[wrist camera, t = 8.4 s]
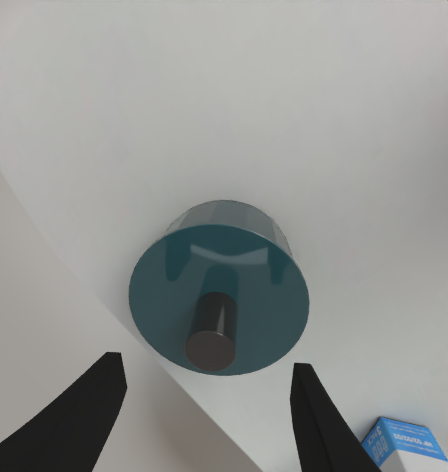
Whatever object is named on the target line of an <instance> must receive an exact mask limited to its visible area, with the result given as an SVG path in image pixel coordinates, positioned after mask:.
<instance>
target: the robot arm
mask: <svg viewBox="0 0 448 472" xmlns="http://www.w3.org/2000/svg"><path fill="white" fill-rule="evenodd" d="M126 390H127V384H126V378H125V372H124V367H123V362H122V357H121V353H116V352H106V353H105V354H104V355H103V356H102V357H101V358H100V359H99V360H98V361H96V362H95V363H94V364H93V365H92V366H91V367H90V368H89V369H88V370H87V371H86V372H85V373H84V374H83V375H81V376H80V377H79V378H78V379H77V380H76V381H75V382H74V383H73V384H72V385H71V386H70V387H68V388H67V389H66V390H65V391H64V392H63V393H62V394H61V395H59V396H58V397H57V398H56V399H55V400H54V401H53V402H51V403H50V404H49V405H48V406H47V407H45V408H44V409H43V410H42V411H41V412H40V413H38V414H37V415H36V416H35V417H33V419H31V420H30V421H29V422H27V423H26V424H25V425H23V426H22V427H21V428H20V429H18V430H17V431H16V432H14V433H13V434H12V435H10V436H9V437H8V438H6V439H5V440H4V441H2V442H1V443H0V472H92V470H93V468H94V466H95V464H96V462H97V460H98V458H99V455H100V453H101V451H102V449H103V447H104V445H105V443H106V440H107V438H108V436H109V434H110V432H111V430H112V427H113V425H114V423H115V421H116V419H117V416H118V414H119V411H120V409H121V406H122V402H123V399H124V397H125V394H126ZM290 405H291V414H292V423H293V430H294V435H295V440H296V445H297V450H298V455H299V460H300V465H301V469H302V472H382V471H381V470H380V468H379V467H378V466H377V465H376V463H375V462H374V461H373V459H372V458H371V457H370V456H369V454H368V453H367V452H366V450H365V449H364V448H363V446H362V445H361V443H360V442H359V441H358V439H357V438H356V436H355V435H354V434H353V432H352V431H351V429H350V428H349V426H348V425H347V423H346V422H345V421H344V419H343V417H342V416H341V414H340V413H339V411H338V410H337V408H336V407H335V405H334V404H333V402H332V400H331V399H330V397H329V395H328V394H327V392H326V390H325V389H324V387H323V385H322V383H321V382H320V380H319V378H318V376H317V374H316V373H315V371H314V369H313V367H312V365H311V364H307V363H294V369H293V377H292V386H291V394H290Z"/></svg>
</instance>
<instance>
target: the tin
mask: <svg viewBox="0 0 448 472" xmlns="http://www.w3.org/2000/svg"><path fill="white" fill-rule="evenodd" d="M208 221H220V222H230V223H236V224H241V225H244V226H247V227H250V228H253V229H255V230H257V231H259V232H261V233H264V234H265V235H267V236H269V237H270V238H272V239H273V240H275V241H276V242H277V243H278V244H280V245H281V246H282V247H283V248H284V249H285V250H286V251H287V252H288V253H289V254H290V255H291V256H292V254H291V251H290V248H289V245H288V242H287V239H286V237H285V236H284V235H283V233H282V232H281V230H280V229H279V227H278V226H277V225H276V223H275V222H274V221H273V220H272V219H271V218H270V217H269V216H267V215H266V214H265V213H263V212H262V211H260V210H259V209H257V208H255V207H253V206H251V205H248V204H245V203H242V202H237V201H229V200H219V201H211V202H206V203H203V204H200V205H197V206H195V207H193V208H191V209H190V210H188V211H187V212H185V213H184V214H183V215H181V216H180V217H179V218H178V219H177V220H176V221H175V222H173V223H172V225H171V226H170V227H169V228H168V230H167V231H166V232H165V234H166V233H168V232H170V231H173V230H175V229H177V228H179V227H182V226H185V225H188V224H193V223H198V222H208ZM165 234H164V235H165ZM164 235H163V236H164Z"/></svg>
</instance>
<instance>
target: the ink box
mask: <svg viewBox="0 0 448 472" xmlns="http://www.w3.org/2000/svg"><path fill="white" fill-rule="evenodd" d="M361 445H362V446H363V448H364V449H365V450H366V452H367V453H368V454H369V456H370V457H371V458H372V459H373V461H374V462H375V463H376V465H377V466H378V467H379V468H380V470H381V471H382V472H448V460H447V458H446V457H445V455H444V453H443V452H442V450H441V448H440V446H439V445H438V443H437V441H436V440H435V438H434V436H433V435H432V433H431V431H430V430H429V428H426V427H421V426H417V425H412V424H408V423H404V422H400V421H395V420H391V419H386V418H383V417H380V419H379V421H378V422H377V424H376V425H375V426H374V428H373V429H372V431H371V432H370V433H369V434H368V436H367V437H366V439H365V440H364V441H363V443H362V444H361Z"/></svg>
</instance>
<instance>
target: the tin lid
mask: <svg viewBox="0 0 448 472" xmlns="http://www.w3.org/2000/svg"><path fill="white" fill-rule="evenodd" d="M129 304H130V309H131V313H132V317H133V319H134V322H135V324H136V326H137V328H138V330H139V331H140V333H141V334H142V336H143V337H144V338H145V340H146V341H147V342H148V343H149V344H150V345H151V346H152V347H153V348H154V349H155V350H156V351H157V352H158V353H160V354H161V355H162V356H163V357H165V358H166V359H168V360H169V361H171V362H173V363H175V364H177V365H179V366H181V367H184V368H186V369H188V370H192V371H195V372H198V373H203V374H208V375H218V376H232V375H241V374H246V373H251V372H254V371H257V370H260V369H263V368H265V367H267V366H269V365H271V364H273V363H275V362H276V361H278V360H279V359H281V358H282V357H283V356H285V355H286V354H287V353H288V352H289V351H290V350H291V349H292V348H293V347H294V345H295V344H296V343H297V341H298V340H299V339H300V337H301V335H302V333H303V331H304V329H305V326H306V323H307V320H308V314H309V295H308V289H307V286H306V282H305V279H304V277H303V275H302V272H301V270H300V268H299V266H298V265H297V263H296V262H295V260H294V259H293V257H292V256H291V255H290V254H289V253H288V252H287V251H286V250H285V249H284V248H283V247H282V246H281V245H280V244H278V243H277V242H276V241H275V240H273V239H272V238H270V237H269V236H267V235H265V234H264V233H261V232H259V231H257V230H255V229H253V228H250V227H247V226H244V225H241V224H236V223H230V222H220V221H208V222H198V223H193V224H188V225H185V226H182V227H179V228H177V229H175V230H173V231H170V232H168V233H166V234H165V235H164V236H162V237H161V238H159V239H158V240H156V241H155V242H154V243H153V244H152V245H151V246H150V247H149V248H148V249H147V250H146V252H145V253H144V254H143V255H142V257H141V258H140V259H139V261H138V263H137V265H136V266H135V268H134V271H133V274H132V276H131V281H130V285H129Z"/></svg>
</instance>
